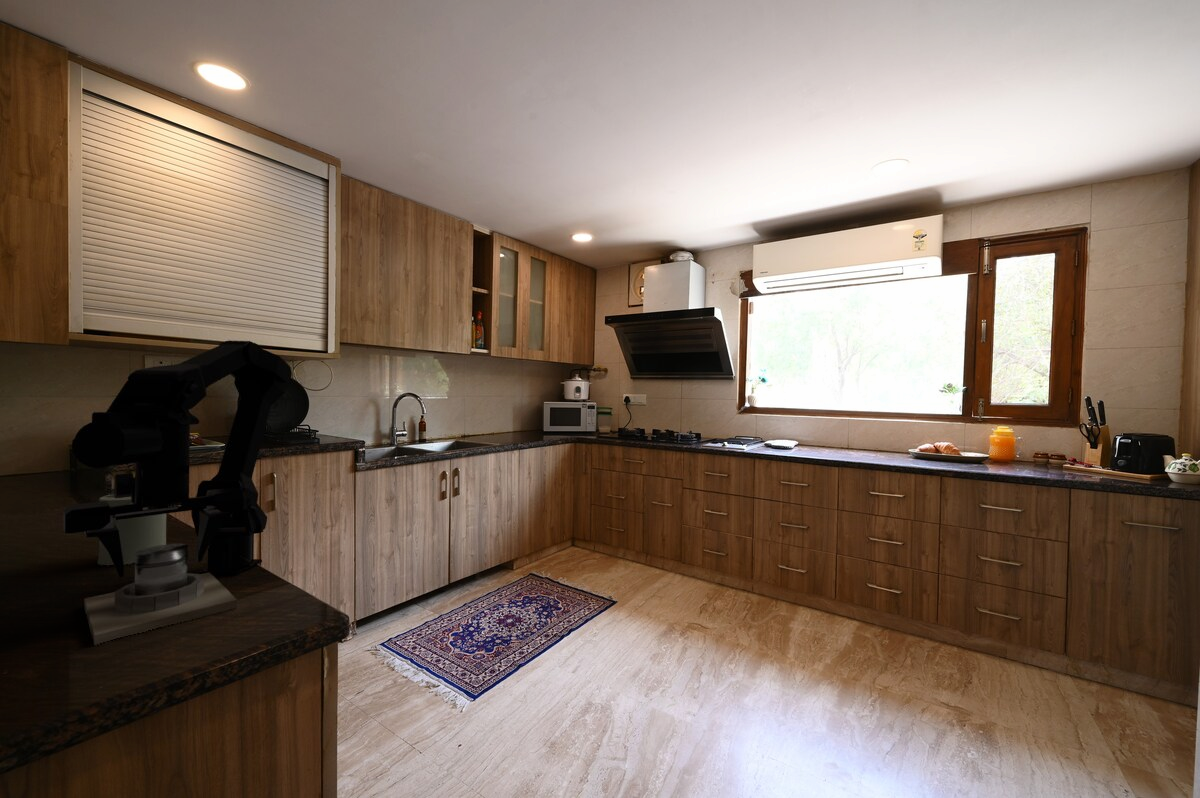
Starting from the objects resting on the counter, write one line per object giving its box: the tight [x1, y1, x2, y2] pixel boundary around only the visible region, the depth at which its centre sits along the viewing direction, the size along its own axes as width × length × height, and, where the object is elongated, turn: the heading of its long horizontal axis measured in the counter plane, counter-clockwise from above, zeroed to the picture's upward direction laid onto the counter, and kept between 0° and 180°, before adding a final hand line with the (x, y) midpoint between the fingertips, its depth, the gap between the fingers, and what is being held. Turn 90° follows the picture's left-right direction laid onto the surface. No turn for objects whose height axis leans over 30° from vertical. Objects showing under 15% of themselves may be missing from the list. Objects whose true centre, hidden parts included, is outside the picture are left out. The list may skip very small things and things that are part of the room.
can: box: [97, 493, 167, 567], centre depth 89 cm, size 9×9×12 cm
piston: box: [134, 543, 189, 596], centre depth 69 cm, size 6×6×7 cm
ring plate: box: [83, 572, 238, 646], centre depth 68 cm, size 16×14×3 cm
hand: (161, 568), depth 68 cm, fingers open, 8 cm apart
